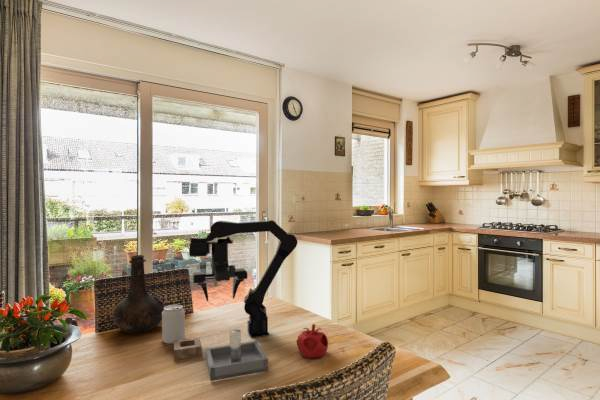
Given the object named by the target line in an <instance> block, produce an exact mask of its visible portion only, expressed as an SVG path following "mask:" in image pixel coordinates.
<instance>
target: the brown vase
mask: <svg viewBox="0 0 600 400" xmlns="http://www.w3.org/2000/svg"><path fill="white" fill-rule="evenodd" d="M130 259H131V260H129V261H128V263H129V264H131V265H130V267H131V268H130V280H129V287H128V288H129V289H128V294H127V296H126V298H123V300H120V301H119V303H118V304H116V306H115V308H114V309H113V312H112V318H113V321H114V324H115V325H116V327H117V328H118V329H119V330H120V331H122V332H125V333H128V334H142V333H145V332H149V331H151V330H153V329H154V328H156V327H158V325H159V324H160V323H162V312H163V311H164V307H165V305H164V304H165V302H164V300H163V299H162V298H161V297H159V296H158V295H151V294H150V293H149V292H148V288H147V284H146V274H145V262H147V259H145V256H144V255H143V254H136V255H132V256H131V257H130Z"/></svg>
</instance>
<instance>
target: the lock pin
mask: <svg viewBox="0 0 600 400" xmlns="http://www.w3.org/2000/svg"><path fill="white" fill-rule="evenodd" d="M241 339H242V332H241V329H231V330H230V331H229V345H230V363H234V362H240V361H241V343H242V340H241Z"/></svg>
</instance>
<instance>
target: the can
mask: <svg viewBox="0 0 600 400" xmlns="http://www.w3.org/2000/svg"><path fill="white" fill-rule="evenodd" d="M183 307H184V306H183V305H180V304H170V305H166V306H164V311H163V312H162V320H161V339H162V342H163V343H165V344H167V345H170V344H173V345H174V341H175V340H182V339H186V323H185V322H186V320H185V319H186V318H185V317H186V315H185V313H186V312H185V309H184V308H183Z"/></svg>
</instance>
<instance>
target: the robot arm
mask: <svg viewBox="0 0 600 400" xmlns="http://www.w3.org/2000/svg"><path fill="white" fill-rule="evenodd" d="M262 232H270V233H271V234H272V235H273V236H274V237H275V238H276V239H278V241H279V242H278V244H277V248H276V251H275V254H274V255H273V257H272V259H271V261H270V262H269V264H268V265H267V268H266V270H264V273H263V274H262V277H261V278H260V280H259V282H258V284H257V285H256V287H254V289H252V288H249V290H248V291H247V292H248V293H247V294H246V295H245V296H244V301H243V303H244V307H243V308H244V312H245V313H246V314H247V315H249V316H248V320H247V333H248V335H249V336H250V338H258V337H260V338H261V337H267V336H269V335H270V332H269V325H268V324H269V323H268V322H269V321H268V319H269V317H268V316H267V307H266V306H265V305H264V304H263V303H264V300H265V296H266V293H267V291H268V290H269V288H270V286H271V284H272V283H273V280H274V279H275V277H276V275H277V273H278V272H279V270H280V269H281V267H282V265H283V263H284V262H285V260H286V258H287V257H289V256H290V254H292V252H293V251H294V250H295V249H296V247H297V245H298V240H297V239H298V238H297V237H296V236H295V234H293V233H292V232H286V231H285V230H284V229H283V228H282V227H281V226H280V225H279V224H277V222H276V221H275V220H273V219H270V220H263V221H262V220H261V221H247V222H246V221H244V222H242V221H241V222H234V221H229V220H227V221H226V220H217V221H214V223H213V224H212V225H211V226H210V232H209V234H207V235H206V237H191V238H190V242H189V249H188V251H189V252H188V254H189V257H190V258H196V257H197V258H199V257H200V258H204V257H208V254H210V255H211V273H205V271H195V272H193V273H192V282H193V284H197V286H200V287H201V289H202V291H203V293H204V294H203V295H204V297H205V299H206V302H208V301H209V295H208V288H207V286H208V285H207V282H206V280H213V279H215V281H216V282H221V281H225V282H226V281H230V279H231V278H233V279H232V294H231V295H232V299H233V300H235V297H236V294H237V291H238V289H239V287H240V286H239V285H240V284H241V283H242V282H244V281H245V280H246V279H247V280H248V271H246V269H245V268H236V265H235V264H231V265H229V244H233V242H234V240H233V239H231V238H230V236H232V235H236V234H245V233H246V234H247V233H249V234H250V233H262ZM225 237H226V238H225ZM215 239H217V241H215Z"/></svg>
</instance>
